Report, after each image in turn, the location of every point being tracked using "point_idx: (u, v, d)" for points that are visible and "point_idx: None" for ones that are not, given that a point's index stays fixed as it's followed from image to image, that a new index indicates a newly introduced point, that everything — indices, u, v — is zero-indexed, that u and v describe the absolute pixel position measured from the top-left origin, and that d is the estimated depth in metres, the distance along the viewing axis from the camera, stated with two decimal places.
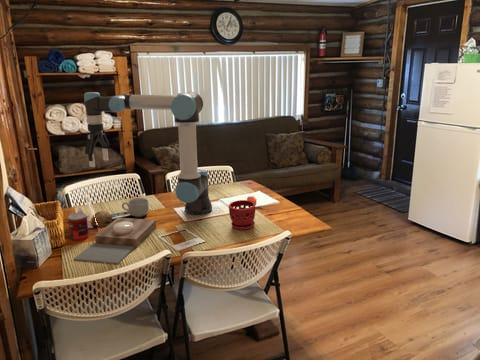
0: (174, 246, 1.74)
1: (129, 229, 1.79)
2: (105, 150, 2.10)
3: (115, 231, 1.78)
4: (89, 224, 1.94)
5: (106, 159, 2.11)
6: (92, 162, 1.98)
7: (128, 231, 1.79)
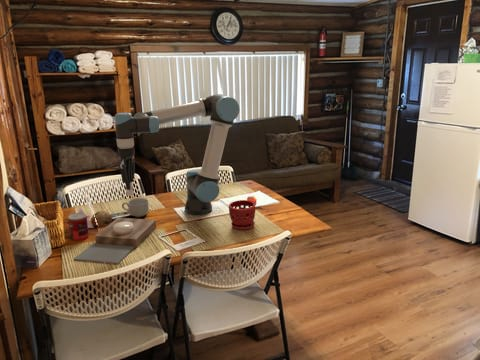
0: (174, 246, 1.74)
1: (129, 229, 1.79)
2: None
3: (115, 231, 1.78)
4: (90, 224, 1.94)
5: None
6: (129, 191, 1.86)
7: (128, 231, 1.79)
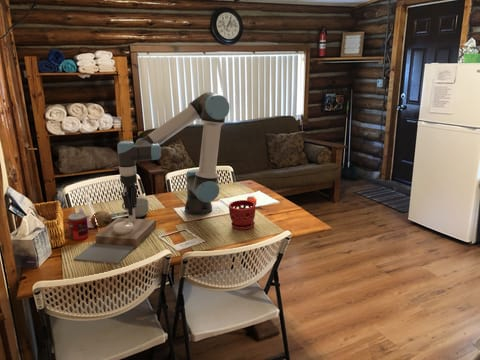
0: (174, 246, 1.74)
1: (129, 229, 1.79)
2: None
3: (115, 231, 1.78)
4: (90, 224, 1.94)
5: None
6: (132, 216, 1.89)
7: (128, 231, 1.79)
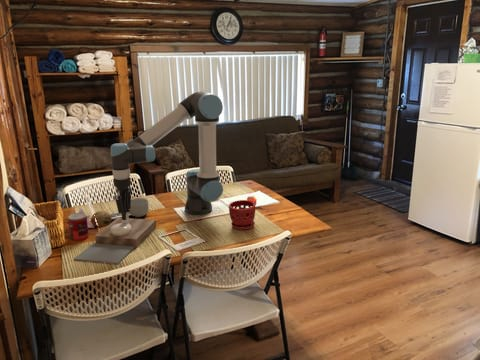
0: (174, 246, 1.74)
1: (127, 231, 1.77)
2: None
3: (112, 233, 1.77)
4: (90, 224, 1.94)
5: None
6: (125, 221, 1.83)
7: (126, 233, 1.77)
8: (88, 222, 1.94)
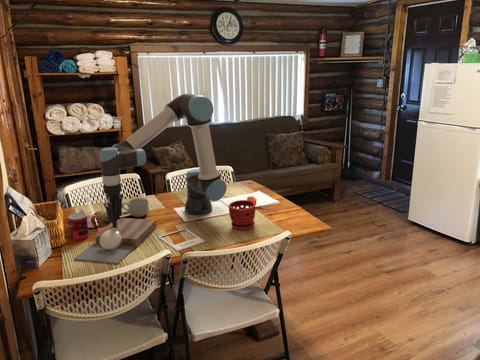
0: (174, 246, 1.74)
1: (116, 244, 1.69)
2: None
3: (103, 247, 1.70)
4: (90, 224, 1.94)
5: None
6: (116, 229, 1.75)
7: (116, 246, 1.70)
8: (88, 222, 1.94)
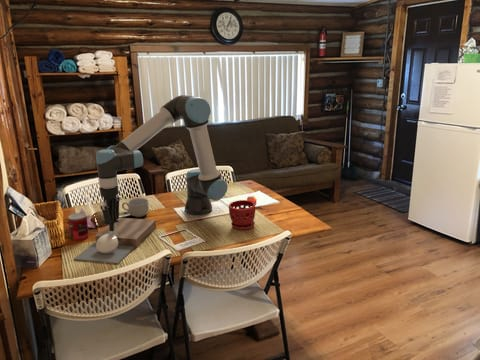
0: (174, 246, 1.74)
1: (112, 248, 1.66)
2: None
3: (99, 251, 1.67)
4: (91, 224, 1.94)
5: (115, 235, 1.73)
6: (113, 232, 1.72)
7: (112, 250, 1.67)
8: (89, 222, 1.94)
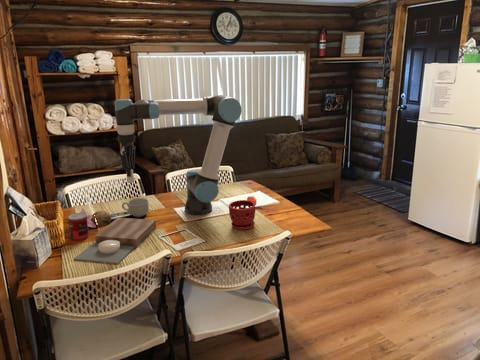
0: (174, 246, 1.74)
1: (113, 249, 1.67)
2: None
3: (99, 250, 1.68)
4: (92, 223, 1.95)
5: None
6: (130, 178, 1.85)
7: (112, 251, 1.67)
8: (90, 222, 1.94)
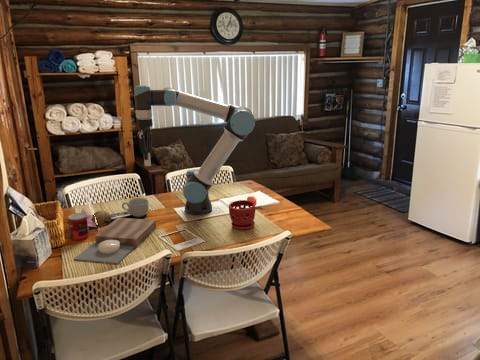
0: (174, 246, 1.74)
1: (113, 249, 1.67)
2: None
3: (99, 250, 1.68)
4: (93, 223, 1.95)
5: None
6: (147, 161, 1.94)
7: (112, 251, 1.67)
8: (90, 221, 1.95)
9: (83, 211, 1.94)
